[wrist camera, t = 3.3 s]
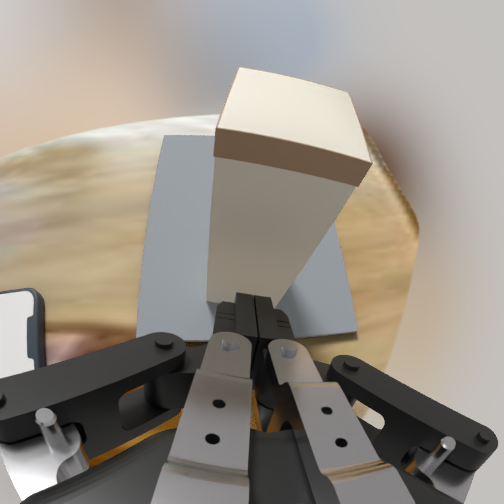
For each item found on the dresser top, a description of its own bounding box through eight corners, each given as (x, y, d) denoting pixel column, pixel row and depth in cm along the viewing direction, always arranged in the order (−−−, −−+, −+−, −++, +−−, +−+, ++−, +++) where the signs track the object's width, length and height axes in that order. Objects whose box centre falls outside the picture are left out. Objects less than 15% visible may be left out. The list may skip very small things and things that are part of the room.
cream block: (272, 311, 21) (372, 163, 8) (205, 301, 21) (215, 127, 8) (277, 253, 24) (349, 92, 11) (216, 243, 23) (238, 66, 11)
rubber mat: (138, 340, 19) (136, 338, 19) (164, 139, 30) (164, 135, 29) (354, 332, 22) (358, 330, 22) (308, 148, 33) (310, 144, 32)
